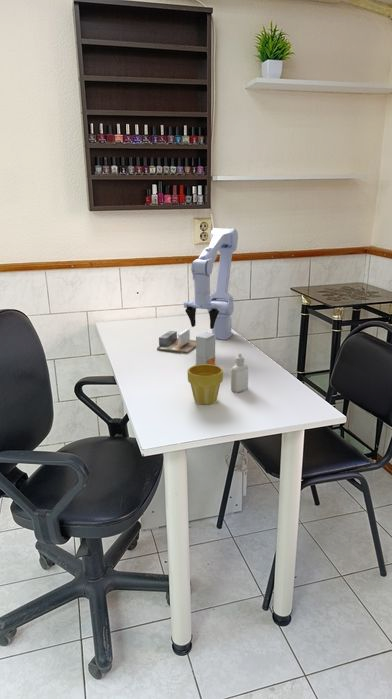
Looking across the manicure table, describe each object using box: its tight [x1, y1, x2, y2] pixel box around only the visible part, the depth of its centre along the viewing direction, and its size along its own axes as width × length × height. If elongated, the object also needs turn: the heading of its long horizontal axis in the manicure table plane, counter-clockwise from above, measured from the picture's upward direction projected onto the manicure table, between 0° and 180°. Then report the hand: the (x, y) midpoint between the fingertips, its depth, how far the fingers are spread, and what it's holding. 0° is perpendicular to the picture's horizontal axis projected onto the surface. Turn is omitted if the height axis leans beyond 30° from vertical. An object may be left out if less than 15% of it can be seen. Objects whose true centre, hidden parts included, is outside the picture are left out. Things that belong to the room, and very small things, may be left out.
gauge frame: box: [156, 330, 196, 355], centre depth 194 cm, size 14×13×4 cm
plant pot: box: [187, 364, 224, 406], centre depth 146 cm, size 10×10×10 cm
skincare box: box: [195, 332, 216, 365], centre depth 171 cm, size 6×4×12 cm
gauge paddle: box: [175, 328, 191, 349], centre depth 192 cm, size 12×1×5 cm, turn 157°
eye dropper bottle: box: [230, 352, 249, 393], centre depth 152 cm, size 4×6×12 cm
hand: (202, 327), depth 187 cm, fingers open, 7 cm apart
